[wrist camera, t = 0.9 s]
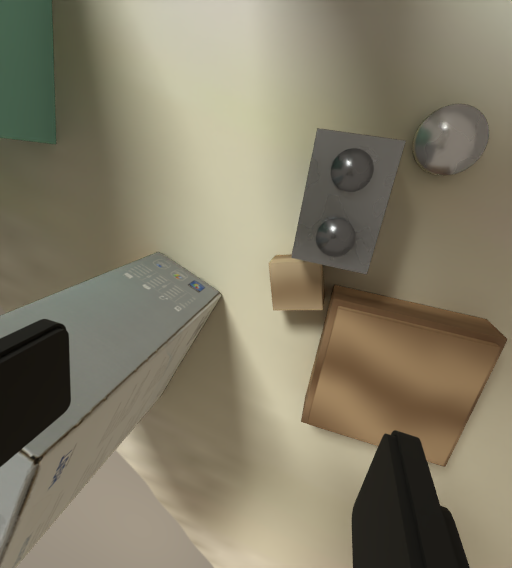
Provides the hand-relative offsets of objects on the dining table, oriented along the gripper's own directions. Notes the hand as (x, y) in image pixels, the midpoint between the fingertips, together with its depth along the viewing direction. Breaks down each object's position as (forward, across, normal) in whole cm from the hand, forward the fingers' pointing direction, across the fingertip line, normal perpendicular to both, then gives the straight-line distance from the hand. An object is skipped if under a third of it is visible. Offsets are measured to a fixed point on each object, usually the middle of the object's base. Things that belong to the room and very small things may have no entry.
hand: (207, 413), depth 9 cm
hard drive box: (+20, +12, +11) cm, 26 cm away
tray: (+20, -10, +8) cm, 23 cm away
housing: (+20, -2, -5) cm, 21 cm away
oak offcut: (+20, -1, +2) cm, 20 cm away
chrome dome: (+20, -8, -10) cm, 24 cm away
